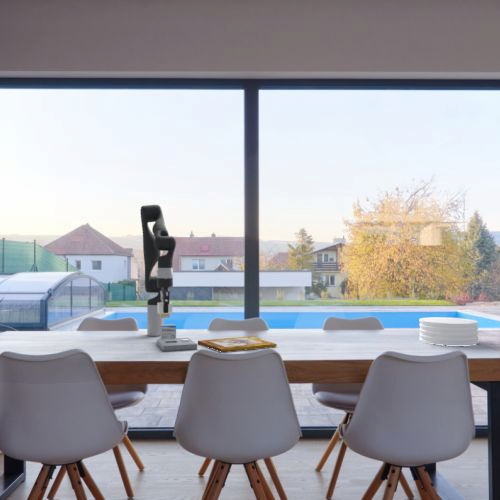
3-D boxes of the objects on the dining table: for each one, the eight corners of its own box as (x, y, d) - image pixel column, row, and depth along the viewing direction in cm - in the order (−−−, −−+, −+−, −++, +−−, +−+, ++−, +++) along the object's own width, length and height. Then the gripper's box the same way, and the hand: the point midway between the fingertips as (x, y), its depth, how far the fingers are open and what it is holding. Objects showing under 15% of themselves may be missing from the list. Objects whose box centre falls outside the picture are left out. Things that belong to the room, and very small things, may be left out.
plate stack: (425, 336, 262) (424, 316, 262) (480, 340, 247) (480, 319, 248) (414, 344, 238) (414, 321, 238) (475, 349, 223) (475, 325, 224)
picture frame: (197, 340, 237) (249, 336, 252) (197, 344, 237) (249, 340, 252) (221, 349, 214) (276, 343, 228) (221, 354, 214) (276, 348, 228)
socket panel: (156, 344, 235) (156, 337, 235) (188, 342, 241) (188, 336, 241) (163, 351, 216) (163, 344, 216) (197, 349, 222) (197, 342, 222)
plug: (157, 316, 228) (157, 302, 228) (170, 316, 230) (170, 302, 230) (158, 318, 223) (158, 303, 223) (172, 317, 225) (172, 303, 225)
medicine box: (160, 342, 241) (160, 325, 241) (160, 341, 245) (160, 324, 245) (176, 341, 243) (176, 325, 243) (175, 340, 247) (175, 324, 248)
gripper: (155, 276, 233) (155, 310, 232) (159, 277, 219) (159, 314, 219) (170, 276, 235) (170, 310, 235) (175, 277, 221) (175, 313, 221)
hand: (164, 312), depth 227 cm, fingers closed on plug, 5 cm apart
